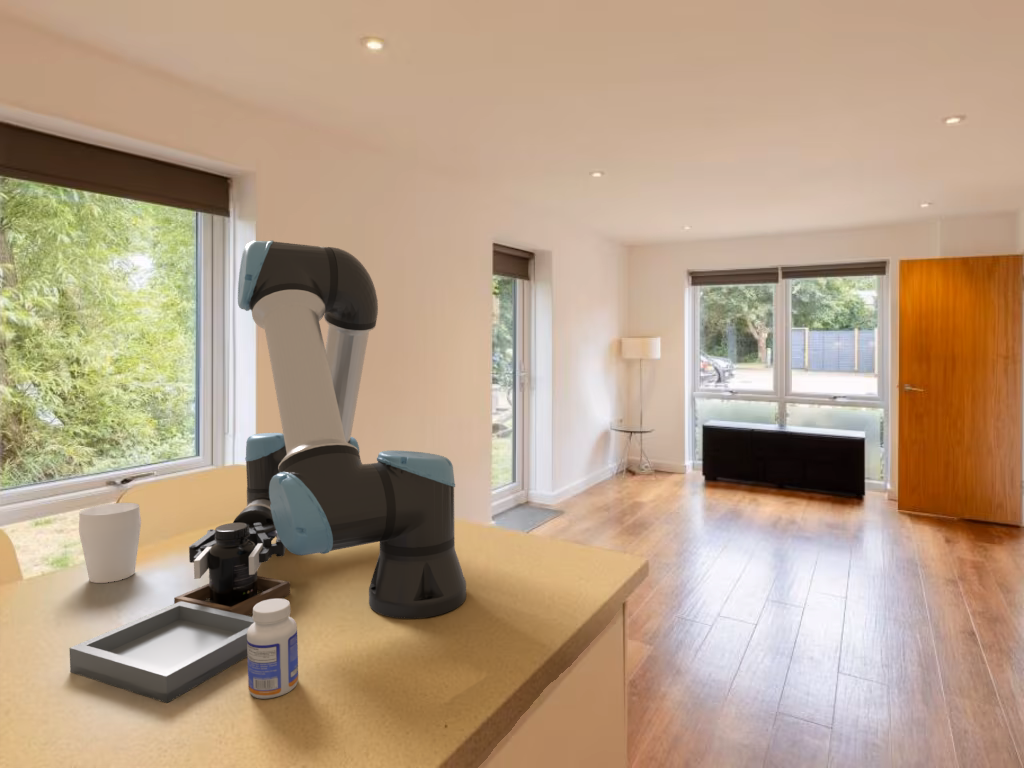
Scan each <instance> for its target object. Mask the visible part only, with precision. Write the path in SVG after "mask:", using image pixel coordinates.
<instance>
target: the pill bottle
mask: <svg viewBox="0 0 1024 768" xmlns="http://www.w3.org/2000/svg"><path fill="white" fill-rule="evenodd" d="M291 612H292V611H291V603H290V601H289V600H287V599H285V598H281V599H269V600H264V601H261V602H259V603H257V604H256V605H255V606H254V607H253V613H252V616H251V617H252V618H253V621H254V623H253V624H252V625H251V626H250V627H249V629H248V631H247V677H248V678H247V684H248V692H249V693H250V695H251V697H253V698H257V699H259V700H260V699H261V700H262V699H263V700H264V699H265V700H267V699H268V700H269V699H273V698H277V697H280V696H283V695H286V694H288V693H289V692H291V691H292V690H294V689H295V688H296V687H297V685H298V682H299V648H298V647H299V644H298V625H297V621H296V620H295V619H294V618H293V617H292V616H290V615H291Z"/></svg>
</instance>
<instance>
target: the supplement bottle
mask: <svg viewBox="0 0 1024 768" xmlns="http://www.w3.org/2000/svg"><path fill="white" fill-rule="evenodd" d="M214 530H215V541H216V542H217V543H216V544H215V545H213V546H212V547H211V549H210V551H209V568H208V581H209V583H208V584H209V590H210V598H209V602H210V603H215V604H219V605H224V606H229V607H232V606H234V605H236V604H239V603H241V602H243V601H245V600H247V599H249V598H251V597H254V596H256V595H258V594H259V590H258V584H257V576H258V570H257V571H256V573H255V574H253V575H249V556H250V554H251V553H252V551H253V550H254V548H255V547H256V545H255V543H254V542H253V541H251V540H249V539H248V538H249V537H250V533H249V525H248V524H247V523H233V522H229V523H225V524H220V525H219V526H217V527H216V528H215V529H214Z"/></svg>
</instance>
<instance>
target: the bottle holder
mask: <svg viewBox="0 0 1024 768" xmlns="http://www.w3.org/2000/svg"><path fill="white" fill-rule="evenodd" d="M257 584H258V592H259V591H260V593H258V595H256V596H254V597H251V598H249V599H247V600H245V601H243V602H241V603H239V604H236V605H234V606H232V607H229V606H224V605H219V604H215V603H210V601H206V600H208V599H210V590H209V583H207V584H205V585H202V586H200V587H197V588H194V589H192V590H190V591H187V592H185V593H183V594H180V595H177V596H175V597H174V599H173V601H174V603H173V604H175V603H178V602H180V601H182V602H187V603H191V604H196V605H201V606H205V607H210V608H214V609H219V610H223V611H228V612H232V613H237V614H241V615H246V616H250V615H251V614H253V607H254V606H255V605H256V604H257V603H259V602H261V601H264V600H269V599H284V598H285V597H287V596H289V595H291V581H287V580H281V579H276V578H270V577H266V576H259V575H257Z"/></svg>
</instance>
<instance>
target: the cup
mask: <svg viewBox="0 0 1024 768" xmlns="http://www.w3.org/2000/svg"><path fill="white" fill-rule="evenodd" d="M78 517H79V520H78V533H79V538H80V542H81V547H82V552H83V556H84V563H85V566H86V571H87V575H88V579H89V580H88V581H90V582H91V583H94V584H105V583H106V584H107V583H108V582H109V583H115V582H119V581H123V580H125V579H127V578H129V577H131V576H133V575H134V574H135V573H136V566H137V557H138V551H139V542H140V533H141V526H142V518H141V509H140V504H139V503H135V502H117V503H115V502H114V503H107V504H101V505H95V506H90V507H88V508H84V509H82V510H80V511H79V515H78ZM122 579H123V580H122ZM114 581H115V582H114Z"/></svg>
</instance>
